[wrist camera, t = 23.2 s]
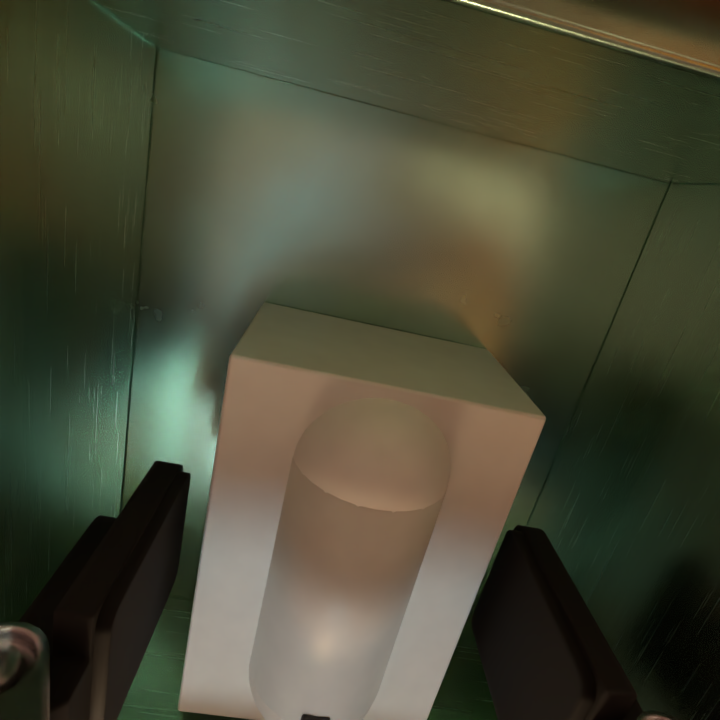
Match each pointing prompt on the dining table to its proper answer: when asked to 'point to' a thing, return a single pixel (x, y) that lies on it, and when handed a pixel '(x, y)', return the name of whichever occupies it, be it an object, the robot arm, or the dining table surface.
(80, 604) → the robot arm
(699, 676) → the box
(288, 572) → the white oval-recess tray
